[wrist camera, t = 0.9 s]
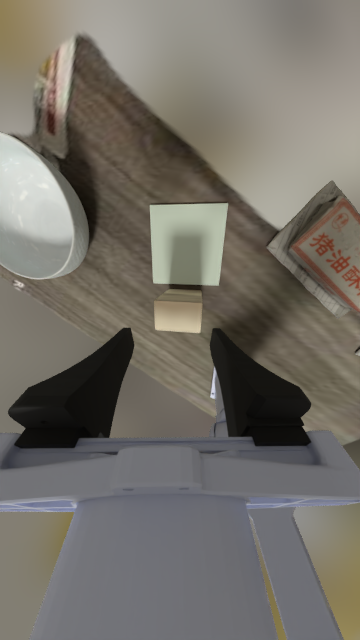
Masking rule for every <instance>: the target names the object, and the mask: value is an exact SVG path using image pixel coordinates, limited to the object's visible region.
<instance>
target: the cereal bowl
mask: <svg viewBox="0 0 360 640" xmlns="http://www.w3.org/2000/svg"><path fill="white" fill-rule="evenodd" d="M88 245H89V227H88V222H87V218H86V215H85V212H84V209H83V206H82V204H81V202H80V200H79V198H78V196H77V194H76V193H75V191H74V189H73V188H72V187H71V185H70V183H69V182H68V181H67V180H66V178H65V177H64V176H63V175H62V174H61V172H59V171H58V170H57V169H56V167H55V166H54V165H52V164H51V163H50V162H49V161H48V160H47V159H45V158H44V157H43V156H42V155H41V154H39V153H37V152H36V151H35V150H34V149H32V148H30V147H29V146H28V145H26V144H25V143H23V142H21V141H20V140H18V139H16V138H15V137H13V136H11V135H9V134H6V133H3V132H0V264H1V265H2V266H3V267H5V268H6V269H8V270H10V271H12V272H13V273H15V274H18V275H20V276H23V277H26V278H31V279H49V278H56V277H60V276H63V275H66V274H69V273H70V272H72V271H73V270H74V269H76V268H77V267H78V266H79V265H80V264H81V263H82V261H83V260H84V258H85V256H86V253H87V250H88Z"/></svg>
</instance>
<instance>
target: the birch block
mask: <svg viewBox="0 0 360 640" xmlns="http://www.w3.org/2000/svg"><path fill="white" fill-rule="evenodd" d="M202 304H203V303H202V292H201V290H182V289H169V290H167V291H166V292H165V293H163V294H162V295H161V296H160V297H158V298H157V299H156V300H154V311H155V330H164V331H178V332H192V333H200V329H201V316H202Z"/></svg>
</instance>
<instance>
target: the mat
mask: <svg viewBox="0 0 360 640" xmlns="http://www.w3.org/2000/svg"><path fill="white" fill-rule="evenodd" d="M227 208H228V203H217V204H175V205H150V220H151V243H152V266H153V283H161V284H189V285H217V286H219V279H220V270H221V261H222V252H223V244H224V235H225V226H226V217H227Z"/></svg>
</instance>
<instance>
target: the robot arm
mask: <svg viewBox="0 0 360 640" xmlns="http://www.w3.org/2000/svg"><path fill="white" fill-rule="evenodd" d="M133 349H134V341H133V337H132V332H131V328H123V329H122V330H120V331H119V332H118V333H117V334H116V335H115V336H114V337H113V338H111V339H110V340H109V341H108V342H107V343H106V344H104V345H103V346H102V347H101V348H99V349H98V350H97V351H95V352H94V353H93V354H91V355H90V356H88V357H87V358H85V359H84V360H82V361H81V362H79V363H77V364H76V365H74V366H72V367H71V368H69V369H67V370H65V371H63V372H61V373H59V374H57V375H55V376H53V377H51V378H49V379H47V380H45V381H42V382H40V383H38V384H36V385H34V386H31V387H29V388H28V389H27V390H26V391H25V392H24V393H23V394H22V395H21V396H20V397H19V399H18V400H17V401H16V402H15V403H14V404H13V405H12V406H11V407H10V409H9V411H8V414H9V416H10V417H11V418H13V419H14V420H15V421H17V422H18V423H19V424H21V425H22V426H24V427H25V428H26V429H25V430H24V432H23V433H22V434H18V433H0V511H40V512H41V511H42V512H47V511H49V512H74V515H73V518H72V521H71V524H70V526H69V529H68V532H67V535H66V538H65V540H64V543H63V546H62V549H61V552H60V554H59V558H58V560H57V563H56V566H55V569H54V571H53V574H52V577H51V580H50V582H49V585H48V588H47V591H46V594H45V597H44V599H43V602H42V605H41V608H40V610H39V613H38V616H37V619H36V622H35V624H34V627H33V630H32V633H31V635H30V638H29V640H278V636H277V632H276V628H275V624H274V620H273V615H272V611H271V607H270V603H269V599H268V595H267V591H266V586H265V582H264V578H263V574H262V570H261V566H260V561H259V557H258V553H257V549H256V545H255V541H254V537H253V533H252V528H251V524H250V520H249V517H250V518H251V519H252V521H253V524H254V527H255V531H256V535H257V538H258V541H259V544H260V548H261V551H262V555H263V558H264V562H265V565H266V569H267V572H268V575H269V579H270V582H271V586H272V589H273V593H274V596H275V600H276V603H277V607H278V610H279V613H280V617H281V620H282V624H283V627H284V631H285V634H286V638H287V640H344V639H343V637H342V634H341V632H340V629H339V627H338V624H337V622H336V620H335V617H334V615H333V612H332V610H331V607H330V605H329V603H328V600H327V598H326V595H325V593H324V590H323V588H322V586H321V583H320V580H319V578H318V575H317V573H316V571H315V568H314V566H313V563H312V561H311V558H310V556H309V554H308V551H307V549H306V546H305V544H304V541H303V539H302V536H301V534H300V532H299V529H298V527H297V524H296V522H295V519H294V517H293V512H294V510H295V508H296V507H299V506H324V505H325V506H326V505H347V504H353V503H359V502H360V470H359V469H358V467H357V466H356V464H355V463H354V462H353V460H352V459H351V458H350V456H349V455H348V454H347V452H346V451H345V450H344V448H343V447H342V445H341V444H340V443H339V441H338V440H337V439H336V437H335V436H334V435H333V433H332V432H331V431H308V432H305V430H304V429H303V427H302V426H304V423H303V421H302V420H301V417H302V416H303V415H304V414H305V413H306V412H307V411H308V410H309V409H310V407H311V402H310V401H309V399H308V398H307V397H306V395H305V394H304V392H303V391H302V390H301V389H300V387H298V386H296V385H294V384H292V383H290V382H288V381H286V380H284V379H282V378H281V377H279V376H277V375H275V374H274V373H272V372H270V371H269V370H267V369H266V368H264V367H263V366H261V365H260V364H258V363H257V362H255V361H254V360H253V359H251V358H250V357H249V356H247V355H246V354H245V353H244V352H243V351H242V350H240V349H239V348H238V347H237V346H236V345H235V344H234V343H233V342H232V341H231V340H230V339H229V338H228V337H227V336H226V335H225V333H224V332H223V331H222V330H221V329H220V328H213V331H212V336H211V342H210V350H211V356H212V359H213V363H214V371H213V379H212V387H211V395H210V396H211V398H214V399H215V404H216V412H217V415H216V423H214V424H212V426H211V429H210V434H209V437H178V438H177V437H175V438H109V436H110V431H111V426H112V421H113V416H114V412H115V407H116V403H117V399H118V395H119V391H120V388H121V384H122V381H123V378H124V375H125V372H126V370H127V367H128V365H129V362H130V359H131V357H132V353H133Z"/></svg>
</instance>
